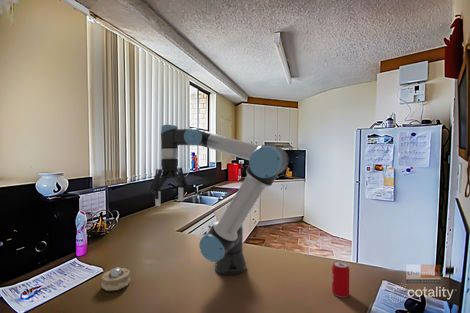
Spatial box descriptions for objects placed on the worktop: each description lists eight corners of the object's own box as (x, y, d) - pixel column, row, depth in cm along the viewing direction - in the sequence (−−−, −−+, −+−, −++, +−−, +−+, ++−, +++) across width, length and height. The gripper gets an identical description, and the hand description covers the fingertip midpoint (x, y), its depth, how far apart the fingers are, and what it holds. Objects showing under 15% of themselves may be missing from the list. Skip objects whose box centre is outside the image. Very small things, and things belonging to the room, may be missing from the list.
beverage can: (344, 289, 100) (344, 260, 99) (352, 298, 93) (352, 267, 93) (329, 289, 99) (329, 260, 99) (336, 299, 93) (336, 267, 93)
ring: (134, 281, 104) (134, 272, 104) (110, 293, 95) (110, 283, 95) (121, 275, 109) (120, 266, 109) (97, 285, 101) (97, 275, 101)
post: (130, 284, 103) (130, 268, 103) (111, 293, 97) (111, 276, 97) (120, 278, 108) (119, 263, 108) (101, 287, 101) (101, 270, 101)
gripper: (183, 157, 127) (184, 198, 128) (141, 158, 107) (141, 207, 107) (194, 157, 123) (194, 199, 123) (152, 159, 102) (152, 209, 103)
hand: (170, 203), depth 115 cm, fingers open, 13 cm apart
